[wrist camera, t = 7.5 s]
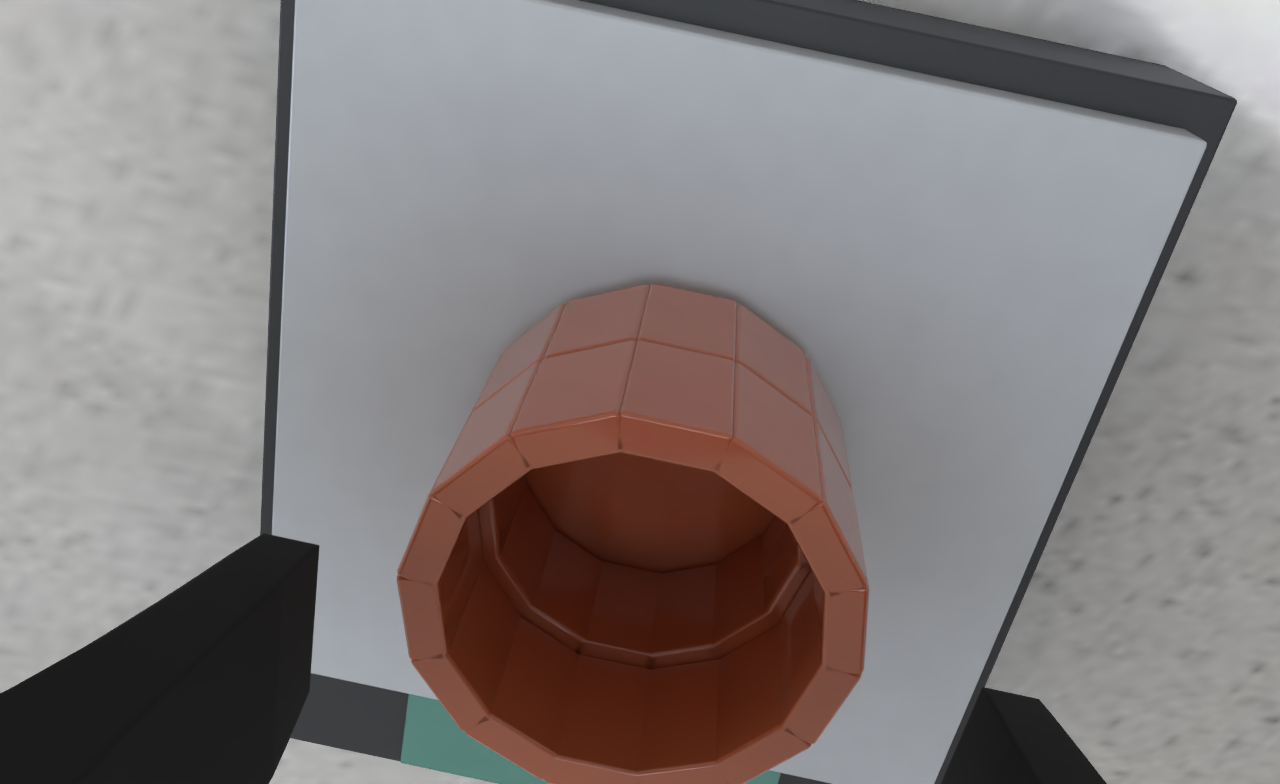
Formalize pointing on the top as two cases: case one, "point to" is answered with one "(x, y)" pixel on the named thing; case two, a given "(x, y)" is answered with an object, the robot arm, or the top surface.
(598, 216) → the scale
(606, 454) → the flower pot
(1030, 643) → the top surface
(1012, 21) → the top surface
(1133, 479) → the top surface
